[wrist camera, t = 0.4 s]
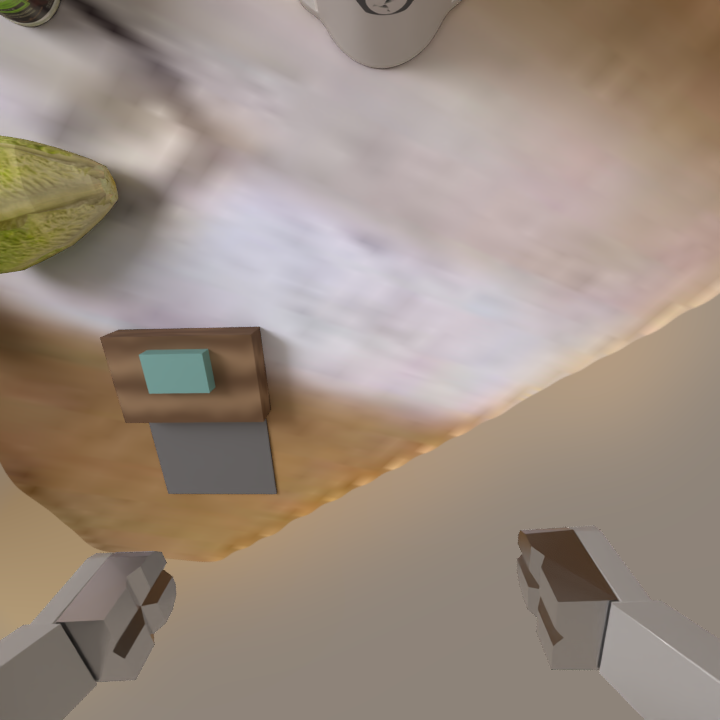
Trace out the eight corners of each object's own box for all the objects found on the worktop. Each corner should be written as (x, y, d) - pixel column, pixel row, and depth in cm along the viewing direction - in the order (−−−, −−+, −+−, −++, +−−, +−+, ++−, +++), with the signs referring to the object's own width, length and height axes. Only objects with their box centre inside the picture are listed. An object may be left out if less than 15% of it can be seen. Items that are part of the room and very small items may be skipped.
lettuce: (110, 126, 50) (153, 244, 58) (-110, 144, 44) (-31, 272, 52) (73, 108, 38) (133, 261, 45) (-241, 129, 32) (-112, 300, 39)
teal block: (147, 349, 52) (138, 354, 50) (208, 348, 52) (201, 353, 50) (156, 387, 54) (149, 393, 52) (215, 387, 54) (209, 392, 52)
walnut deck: (118, 329, 56) (99, 337, 52) (259, 326, 54) (250, 334, 51) (141, 410, 61) (125, 423, 57) (270, 409, 59) (263, 422, 56)
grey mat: (148, 415, 61) (147, 416, 61) (265, 414, 60) (265, 415, 60) (169, 492, 67) (168, 493, 66) (276, 492, 65) (276, 494, 65)
